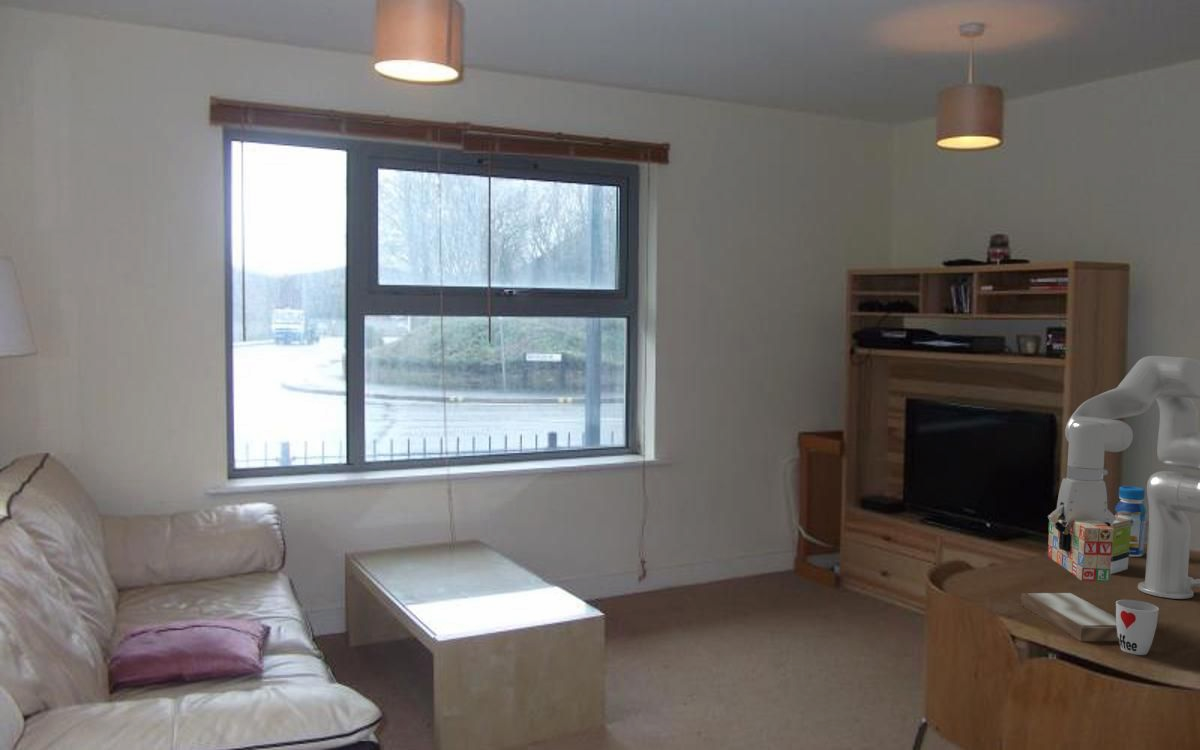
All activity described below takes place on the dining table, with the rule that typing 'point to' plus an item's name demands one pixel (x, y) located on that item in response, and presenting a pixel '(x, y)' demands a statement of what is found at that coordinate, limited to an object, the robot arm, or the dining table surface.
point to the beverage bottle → (1133, 516)
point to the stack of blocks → (1084, 550)
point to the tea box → (1120, 544)
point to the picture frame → (1073, 615)
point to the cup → (1135, 625)
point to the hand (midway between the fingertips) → (1080, 549)
